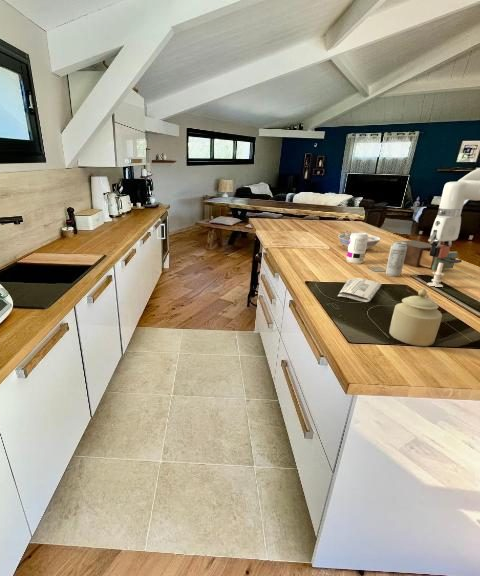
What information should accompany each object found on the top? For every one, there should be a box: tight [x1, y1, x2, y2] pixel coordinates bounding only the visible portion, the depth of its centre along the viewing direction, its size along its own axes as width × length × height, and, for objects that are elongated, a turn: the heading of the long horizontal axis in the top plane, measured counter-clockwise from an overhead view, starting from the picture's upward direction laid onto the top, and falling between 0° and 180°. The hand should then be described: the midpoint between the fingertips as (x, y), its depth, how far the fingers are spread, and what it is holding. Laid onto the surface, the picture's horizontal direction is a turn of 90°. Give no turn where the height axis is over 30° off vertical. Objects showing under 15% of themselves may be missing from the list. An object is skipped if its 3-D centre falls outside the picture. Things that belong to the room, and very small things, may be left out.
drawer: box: [418, 249, 463, 271], centre depth 149 cm, size 18×11×8 cm, turn 14°
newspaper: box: [337, 277, 382, 303], centre depth 125 cm, size 23×12×2 cm, turn 141°
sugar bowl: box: [388, 288, 443, 347], centre depth 90 cm, size 15×11×15 cm
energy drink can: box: [385, 241, 407, 278], centre depth 140 cm, size 6×6×15 cm
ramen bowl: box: [337, 230, 381, 250], centre depth 187 cm, size 25×23×8 cm
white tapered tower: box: [427, 262, 445, 288], centre depth 127 cm, size 5×5×10 cm
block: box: [429, 243, 451, 258], centre depth 135 cm, size 5×5×5 cm
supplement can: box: [345, 231, 369, 265], centre depth 160 cm, size 8×8×15 cm
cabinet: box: [399, 239, 431, 268], centre depth 160 cm, size 15×13×10 cm
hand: (438, 255), depth 136 cm, fingers closed on block, 4 cm apart
